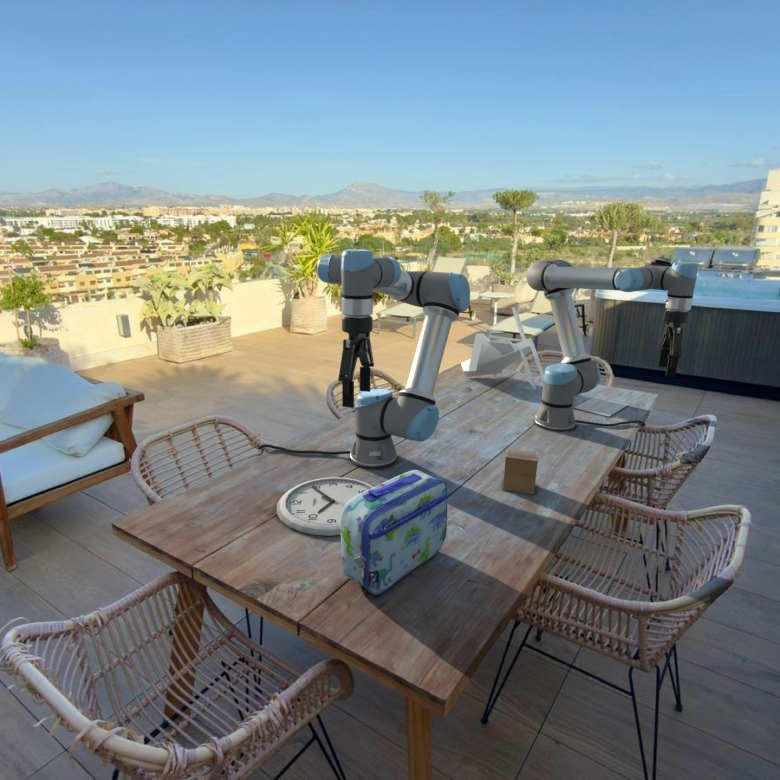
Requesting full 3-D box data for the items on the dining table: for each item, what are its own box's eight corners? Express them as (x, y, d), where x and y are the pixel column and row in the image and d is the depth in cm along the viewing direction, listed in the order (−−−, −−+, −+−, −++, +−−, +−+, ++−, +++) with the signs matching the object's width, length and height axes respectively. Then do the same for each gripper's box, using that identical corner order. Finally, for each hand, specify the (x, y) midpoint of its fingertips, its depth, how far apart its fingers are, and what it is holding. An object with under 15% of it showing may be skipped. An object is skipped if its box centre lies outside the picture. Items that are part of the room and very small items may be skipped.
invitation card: (608, 416, 214) (573, 407, 224) (608, 416, 214) (573, 408, 224) (628, 404, 229) (594, 396, 238) (628, 405, 229) (594, 397, 238)
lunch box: (368, 607, 104) (369, 515, 98) (334, 582, 112) (333, 494, 106) (451, 554, 122) (455, 472, 116) (417, 535, 129) (420, 457, 123)
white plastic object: (482, 418, 266) (461, 395, 241) (463, 346, 288) (443, 318, 264) (553, 394, 254) (538, 368, 229) (528, 321, 276) (512, 289, 251)
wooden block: (504, 480, 159) (507, 448, 156) (534, 484, 156) (538, 452, 153) (502, 489, 153) (505, 456, 150) (534, 494, 150) (537, 461, 147)
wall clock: (392, 527, 129) (268, 531, 127) (391, 533, 130) (269, 537, 127) (383, 473, 158) (282, 475, 155) (383, 478, 158) (282, 480, 156)
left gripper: (358, 307, 139) (358, 384, 146) (323, 322, 116) (325, 412, 123) (385, 309, 138) (384, 386, 144) (355, 324, 114) (355, 415, 121)
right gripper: (658, 304, 187) (648, 362, 193) (672, 314, 164) (661, 379, 170) (681, 305, 185) (670, 363, 191) (699, 316, 162) (686, 382, 168)
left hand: (357, 398), depth 133 cm, fingers open, 13 cm apart
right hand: (666, 371), depth 181 cm, fingers open, 13 cm apart
